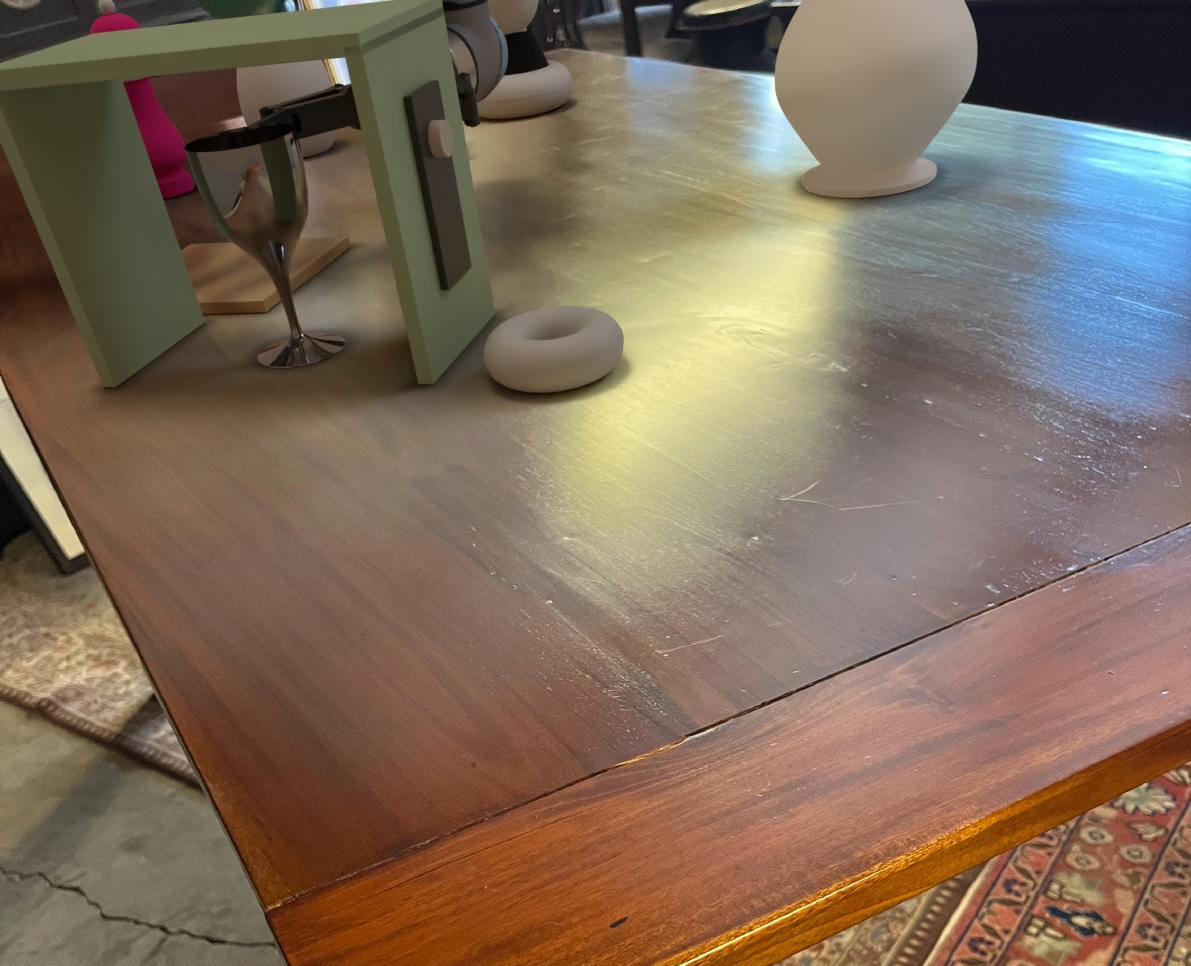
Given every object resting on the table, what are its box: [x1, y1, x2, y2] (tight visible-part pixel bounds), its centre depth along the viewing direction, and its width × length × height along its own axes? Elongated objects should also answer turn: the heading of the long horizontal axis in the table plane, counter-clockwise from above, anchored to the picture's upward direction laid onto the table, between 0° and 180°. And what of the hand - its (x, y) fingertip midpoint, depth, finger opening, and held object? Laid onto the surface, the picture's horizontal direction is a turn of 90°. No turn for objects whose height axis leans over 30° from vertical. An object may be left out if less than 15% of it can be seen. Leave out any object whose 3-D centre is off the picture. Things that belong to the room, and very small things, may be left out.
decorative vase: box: [774, 0, 978, 199], centre depth 97 cm, size 18×18×25 cm
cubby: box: [0, 0, 496, 388], centre depth 80 cm, size 30×14×21 cm, turn 75°
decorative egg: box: [236, 60, 338, 159], centre depth 141 cm, size 12×12×15 cm
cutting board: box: [180, 236, 351, 315], centre depth 104 cm, size 18×18×1 cm
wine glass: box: [184, 124, 347, 369], centre depth 83 cm, size 8×8×15 cm
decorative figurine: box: [477, 0, 574, 120], centre depth 143 cm, size 15×15×20 cm
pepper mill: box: [89, 0, 195, 200], centre depth 130 cm, size 7×7×20 cm
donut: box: [482, 305, 625, 394], centre depth 77 cm, size 10×3×10 cm
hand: (328, 139), depth 89 cm, fingers open, 13 cm apart
